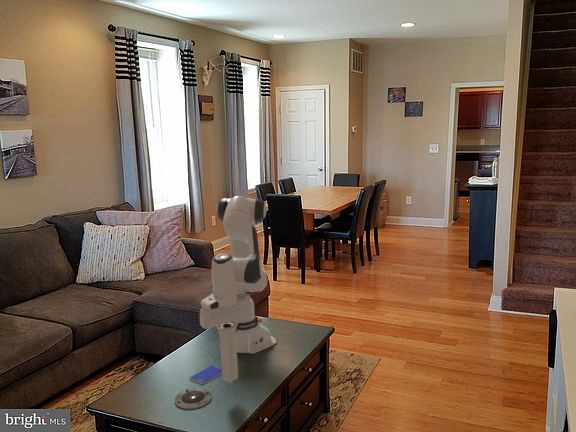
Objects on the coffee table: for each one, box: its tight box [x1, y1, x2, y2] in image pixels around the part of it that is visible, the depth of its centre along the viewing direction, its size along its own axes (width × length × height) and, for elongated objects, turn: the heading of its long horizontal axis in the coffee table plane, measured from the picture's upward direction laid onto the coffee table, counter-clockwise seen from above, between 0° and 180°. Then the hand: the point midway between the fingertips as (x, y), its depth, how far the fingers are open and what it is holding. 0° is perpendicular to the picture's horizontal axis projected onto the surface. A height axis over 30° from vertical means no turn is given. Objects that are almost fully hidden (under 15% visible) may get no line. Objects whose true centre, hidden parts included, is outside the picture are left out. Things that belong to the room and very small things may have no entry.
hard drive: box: [188, 365, 222, 386], centre depth 212 cm, size 2×8×12 cm
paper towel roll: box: [219, 323, 239, 384], centre depth 190 cm, size 7×6×21 cm
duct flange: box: [174, 387, 213, 410], centre depth 194 cm, size 14×14×1 cm
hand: (227, 333), depth 189 cm, fingers closed on paper towel roll, 3 cm apart
